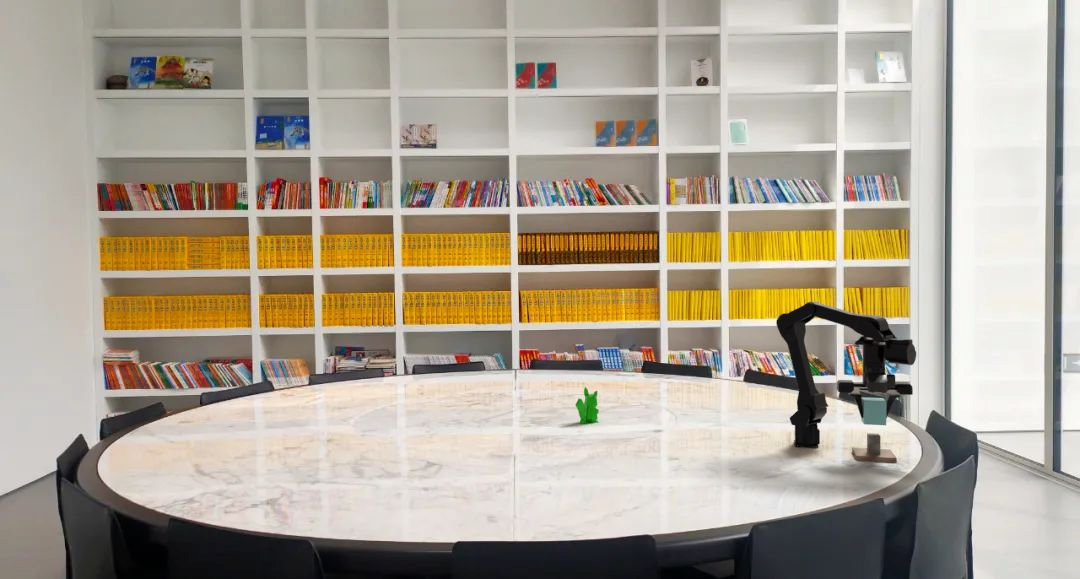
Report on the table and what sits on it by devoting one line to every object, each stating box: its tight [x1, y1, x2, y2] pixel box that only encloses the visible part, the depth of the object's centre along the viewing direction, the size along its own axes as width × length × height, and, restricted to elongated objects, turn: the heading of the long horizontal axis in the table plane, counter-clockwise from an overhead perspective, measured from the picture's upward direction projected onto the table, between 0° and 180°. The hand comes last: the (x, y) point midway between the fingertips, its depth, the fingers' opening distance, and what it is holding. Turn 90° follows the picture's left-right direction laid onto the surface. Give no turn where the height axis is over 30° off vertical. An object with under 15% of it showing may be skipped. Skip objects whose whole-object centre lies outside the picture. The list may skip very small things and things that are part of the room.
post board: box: [851, 432, 898, 463], centre depth 213 cm, size 10×10×6 cm
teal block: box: [860, 396, 887, 426], centre depth 213 cm, size 6×6×6 cm
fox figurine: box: [575, 386, 600, 425], centre depth 264 cm, size 6×10×12 cm, turn 134°
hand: (873, 418), depth 213 cm, fingers closed on teal block, 6 cm apart
